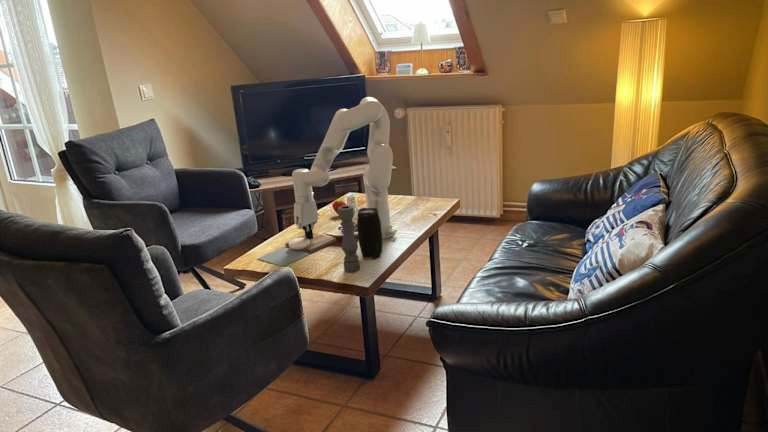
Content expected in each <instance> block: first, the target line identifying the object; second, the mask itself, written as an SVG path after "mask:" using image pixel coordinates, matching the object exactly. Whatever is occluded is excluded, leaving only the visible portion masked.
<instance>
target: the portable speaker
mask: <svg viewBox="0 0 768 432" xmlns="http://www.w3.org/2000/svg"><path fill="white" fill-rule="evenodd" d="M357 212H358V213H357V221H356V227H357V228H356V229H357V236H358V246H359V248H360V252H361V253H360V254H361V256H362V258H363V259H366V258H368V259H372V260H378V259H379V258H381V257H382V253H383V239H382V231H381V222H380V218H379V215H378V210H377V208H367V207H361V208H359V209H358V211H357Z"/></svg>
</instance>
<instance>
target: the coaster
mask: <svg viewBox="0 0 768 432" xmlns="http://www.w3.org/2000/svg"><path fill="white" fill-rule="evenodd" d="M288 242H289V248H291V249H303V248H306V247H308V246H310V239H308V238H299V237H296V238H293V239H291V240H289V241H288Z"/></svg>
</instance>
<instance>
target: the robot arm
mask: <svg viewBox="0 0 768 432" xmlns="http://www.w3.org/2000/svg"><path fill="white" fill-rule="evenodd" d="M367 125H369V133H368V142H367V144H368V145H367V149H366V154H367V157H368V158H369V165H368V166H367V167H366V168H365V169H364V171H363V184H364V185H363V186H364V190H365V192H364V193H365V198H366V199H365V200H366V201H365V202H366V208H377V210H378V215H379V218H380V222H381V231H382V240H384V239H388V238H391V237H393V236H395V235H396V234H397V233H396V232H397V231H398V229H397V228H395V227H394V228H393V224H392V223H391V219H390V217H391V214H390V206H389V193H388V188H389V186H390V183H391V177H392V171H393V162H394V160H393V159H394V154H393V149H392V148H391V146H390V144H389V143H390V133H391V132H390V130H391V123H390V117H389V113H388V112H387V110H386V108H385V106H384V105H383V104H382V103H381V102H380V101H379V100H378V99H376V98H375V97H371V96H366V97H364V98H362V99H361V100H360V102H359V104H358V105H356V106H354V107H351V108H349V109H347V108H340V109H338V110H337V111H336V112H335V114H334V115H333V118H332V120H331V122H330V125H329V128H328V130H327V132H326V134H325V136H324V139H323V141H322V143H321V146H320V147H319V149H318V151H317V153H316V156H315V158H314V160H313V162H312V165H311V168H310V170H309V169H308V168H298V169H295V170H293V171H292V173H291V176H292V177H291V178H292V183H293V191H294V198H295V199H294V200H295V202H294V204H293V220H294V224H295V225H296V226H297V227H296V228H297V229H298V230H303V231H304V235H305V237H306V238H308V239H310V240H311V239H313V233H314V232H313V230H314V226H315V225H316V224H317V223H318V220H319V214H318V207H317V204H316V200H315V199H314V196H315V192H313V187H324V186H326V185H327V184H328V183H329V181H330V174H329V171H330V168H331V166H332V164H333V161H334V159H335V158H336V156H337V155H339V154H341V153H340V152H342V151H343V149H344V147H345V145H346V142H347V139H348V138H349V135H350V132H352V131H355V130H358V129H361V128H362V127H364V126H367Z"/></svg>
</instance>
